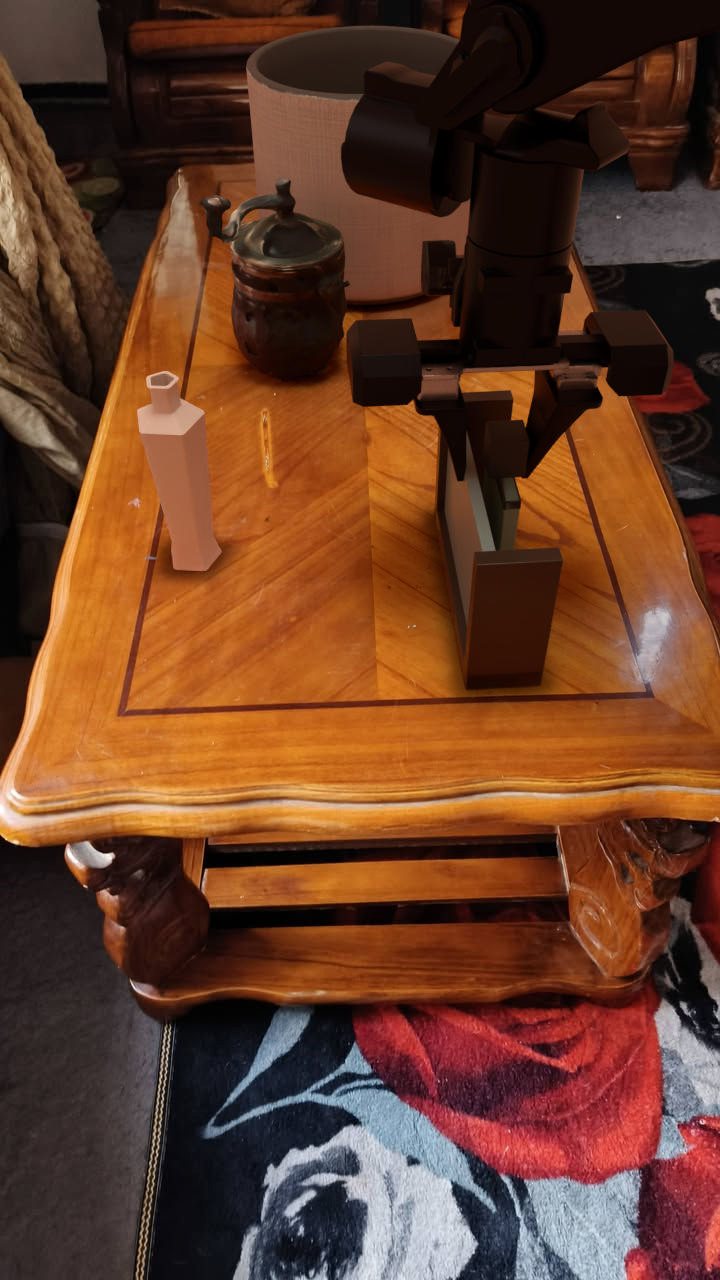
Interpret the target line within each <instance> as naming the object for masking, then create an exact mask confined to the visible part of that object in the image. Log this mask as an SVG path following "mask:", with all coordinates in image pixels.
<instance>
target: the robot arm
mask: <svg viewBox="0 0 720 1280" xmlns="http://www.w3.org/2000/svg"><path fill="white" fill-rule="evenodd" d="M719 32H720V0H468V3H467V5H466V7H465V10H464V12H463V15H462V22H461V30H460V37H459V40H460V41H459V42H458V44H457V45H456V47H455V48H454V50H453V51H452V53H451V54H450V56H449V57H448V59H447V60H446V62H445V63H444V65H443V67H442V68H441V70H440V71H439V73H438V74H437V76H435V75H430V74H426V73H421V72H417V71H414V70H412V69H410V68H408V67H407V66H405V65H401V64H397V63H392V62H384V63H382V64H380V65H377V66H375V67H373V68H371V69H368V70H366V71H365V73H364V95H363V96H362V97H361V98H360V100H359V102H358V103H357V105H356V106H355V108H354V110H353V113H352V115H351V117H350V120H349V123H348V127H347V130H346V135H345V141H344V142H343V143H342V145H341V163H342V171H343V174H344V177H345V180H346V182H347V184H348V185H349V187H350V189H351V190H353V191H354V192H355V193H356V194H359V195H363V196H366V197H370V198H373V199H377V200H381V201H384V202H388V203H391V204H395V205H398V206H402V207H405V208H409V209H412V210H416V211H419V212H423V213H426V214H430V215H433V216H437V217H446V216H449V215H451V214H452V213H453V212H454V211H455V210H456V209H457V208H458V207H459V206H460V205H461V203H463V202H467V201H468V200H469V199H470V209H469V221H468V234H467V236H466V243H465V247H464V255H456V244H455V242H454V241H451V240H430V241H423V244H422V259H421V289H422V293H423V294H425V295H424V296H427V297H443V296H444V297H445V296H449V301H448V302H449V308H450V320H451V324H452V327H454V328H459V335H458V338H448V339H446V338H445V339H421V340H419V339H418V338H417V334H416V329H415V326H414V323H413V318H411V317H409V318H383V319H381V318H379V319H357V320H355V321H353V324H351V325H350V326H349V328H348V329H347V330H346V335H345V336H346V338H345V339H346V340H345V341H346V344H345V345H346V348H345V350H346V352H345V353H346V367H347V373H348V380H349V385H350V393H351V398H352V403H353V404H356V405H357V406H360V407H362V408H372V407H373V408H374V407H393V406H394V407H395V406H397V407H398V406H408V405H409V404H411V402H413V405H414V409H415V412H416V413H417V414H418V415H420V416H425V417H433V418H434V420H435V422H436V424H437V427H438V426H439V428H440V430H441V432H442V434H443V436H444V438H445V440H446V442H447V445H448V449H449V452H450V456H451V460H452V463H453V467H454V471H455V475H456V478H457V481H458V482H459V481H463V480H464V475H465V471H466V440H467V407H466V404H465V401H464V398H463V394H462V393H463V392H462V389H461V385H460V382H461V379H462V378H461V376H462V375H463V374H479V373H480V374H481V373H505V372H507V373H509V372H532V371H534V380H533V383H534V384H533V393H532V397H531V401H530V406H529V407H530V408H529V410H528V416H527V419H526V423H525V427H526V431H527V434H528V437H529V440H530V443H529V451H528V458H527V466H526V474H525V477H521V479H522V480H523V479H524V480H525V479H529V478H530V477H531V475H532V474H533V473H534V471H535V470H536V468H537V467H538V466H539V465H540V464H541V462H542V461H543V459H544V458H545V457H546V456H547V454H548V453H549V452H550V451H551V449H552V448H553V447H554V445H555V444H556V443H557V442H558V440H559V439H560V438H561V437H562V436H563V435H564V434H565V433H566V432H567V431H568V430H569V429H570V428H571V427H572V426H573V425H574V424H575V423H576V421H577V420H579V419H580V417H581V416H583V415H584V413H585V412H586V411H589V410H596V409H600V408H601V407H602V405H603V401H604V396H603V394H602V393H601V390H600V389H599V387H598V381H599V377H601V375H602V369H604V368H607V371H606V375H605V381H606V383H607V385H608V386H609V388H610V389H611V390H612V391H613V392H614V393H615V394H616V395H617V397H639V396H643V397H644V396H662V395H663V394H664V393H666V392H667V391H668V390H669V386H670V382H671V378H672V375H673V370H674V368H675V367H674V366H675V360H674V350H673V348H672V347H671V346H670V344H669V342H668V341H667V339H666V338H665V336H664V335H663V333H662V332H661V330H660V329H659V327H658V325H657V324H656V323H655V321H654V320H653V318H652V317H651V316H650V315H649V314H648V312H647V310H646V309H637V310H636V309H634V310H610V311H608V310H607V311H606V310H605V311H590V312H589V313H588V314H587V316H586V317H585V318H584V320H583V326H582V329H581V330H580V329H579V330H578V329H576V330H574V329H573V330H560V327H561V320H562V315H563V308H564V301H565V295H566V294H571V292H572V291H571V290H572V285H573V278H574V273H573V272H572V270H571V269H570V263H571V255H572V250H573V243H574V237H575V231H576V230H575V229H576V223H577V217H578V211H579V205H580V198H581V192H582V186H583V179H584V173H585V171H587V172H588V171H589V172H596V171H598V170H600V169H601V168H603V167H605V166H607V165H608V164H610V163H612V162H614V161H615V160H617V159H619V158H621V157H622V156H624V155H626V154H627V153H628V152H629V151H630V149H631V142H630V140H629V138H628V137H627V136H626V134H625V133H624V132H623V130H622V129H621V128H620V126H619V125H617V123H616V122H614V120H613V119H612V117H611V115H610V114H609V111H608V109H607V108H608V107H607V105H606V103H605V102H604V101H602V100H600V101H597V102H594V103H593V104H590V105H589V106H586V107H585V108H582V109H580V110H579V111H578V112H577V113H576V114H575V115H574V114H568V113H564V112H560V111H554V110H549V109H545V108H540V107H542V106H544V105H546V104H548V103H550V102H552V101H554V100H556V99H558V98H560V97H562V96H565V95H566V94H569V93H570V92H572V91H574V90H576V89H578V88H581V87H583V86H584V85H586V84H588V83H590V82H593V81H595V80H596V79H598V78H601V77H603V76H605V75H606V74H608V73H610V72H613V71H615V70H617V69H619V68H621V67H622V66H624V65H626V64H628V63H630V62H632V61H635V60H637V59H638V58H640V57H643V56H644V55H646V54H648V53H651V52H652V51H654V50H657V49H659V48H662V47H666V46H669V45H673V44H677V43H680V42H681V43H682V42H685V41H688V40H692V39H697V38H700V37H704V36H708V35H710V34H714V33H719ZM490 109H492V110H493V111H494V112H495V113H499V114H503V115H505V116H506V115H515V116H514V117H513V118H508V117H504V116H499V115H494V114H489V113H487V111H488V110H490Z"/></svg>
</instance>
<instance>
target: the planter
mask: <svg viewBox="0 0 720 1280" xmlns="http://www.w3.org/2000/svg"><path fill="white" fill-rule="evenodd" d="M459 41H460V39H458V38H455V37H454V36H450V35H448V34H444V33H440V32H436V31H433V30H432V31H431V30H426V29H422V28H414V27H413V28H412V27H405V26H404V27H403V26H392V25H390V26H389V25H351V26H349V25H348V26H336V27H327V28H322V29H321V28H320V29H314V30H308V31H303V32H299V33H294V34H291V35H288V36H287V35H286V36H284V37H281V38H278V39H275V40H273V41H269V43H266V44H264V45H262V46H261V47H259V48H258V49H257V50H254V52H252V53H251V55H249V57H248V59H247V61H246V68H245V69H246V79H247V80H246V81H247V91H248V92H247V93H248V102H249V103H248V104H249V113H250V123H251V136H252V138H251V139H252V148H253V161H254V173H255V187H256V197H258V196H264V195H269V194H274V193H277V190H276V187H275V184H276V181H277V179H278V178H287V179H289V180H290V181H291V185H290V193H291V195H292V196H293V197H294V199H295V201H296V204H295V207H294V209H293V212H296V213H300V214H303V215H306V216H308V217H310V218H315V219H317V220H322V221H324V222H326V223H329V224H331V225H333V226H334V227H335V228H336V229H338V230H339V231H340V232H341V234H342V236H343V239H344V246H345V270H344V282H345V281H347V280H348V282H349V283H350V285H349V286H348V287H344V289H345V296H346V302H347V306H379V305H387V304H394V303H400V302H406V301H409V300H413V299H416V298H419V297H422V296H426V295H425V294H423V293H422V289H421V259H422V244H423V241H430V240H451V241H454V242H455V244H456V255H464V247H465V243H466V236H467V234H468V221H469V209H470V199H469V200H468V201H467V202H463V203H461V205H460V206H459V207H458V208H457V209H456V210H455V211H454V212H453V213H452V214H451V215H449V216H446V217H437V216H433V215H430V214H426V213H423V212H419V211H416V210H412V209H409V208H405V207H402V206H398V205H395V204H391V203H388V202H384V201H381V200H377V199H373V198H370V197H366V196H363V195H359V194H356V193H355V192H354V191H353V190H351V189H350V187H349V185H348V184H347V182H346V180H345V177H344V174H343V171H342V163H341V145H342V143H343V142H344V141H345V135H346V130H347V127H348V123H349V120H350V117H351V115H352V113H353V110H354V108H355V106H356V105H357V103H358V102H359V100H360V98H361V97H362V96H363V95H364V73H365V71H366V70H368V69H371V68H373V67H375V66H377V65H380V64H382V63H384V62H392V63H397V64H401V65H405V66H407V67H408V68H410V69H412V70H414V71H417V72H421V73H426V74H430V75H435V76H437V74H438V73H439V71H440V70H441V68H442V67H443V65H444V63H445V62H446V60H447V59H448V57H449V56H450V54H451V53H452V51H453V50H454V48H455V47H456V45H457V44H458V42H459ZM257 213H258V220H260V219H261V218H264V217H267V216H269V215H271V214H274V213H276V212H275V211H274V210H269V209H257Z"/></svg>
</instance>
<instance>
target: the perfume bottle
mask: <svg viewBox="0 0 720 1280" xmlns="http://www.w3.org/2000/svg"><path fill="white" fill-rule="evenodd" d="M179 380H180V377H179V376H178V375H175V374H174V373H172V372H171V371H168V370H162V371H160V372H156V373H153V374H150V375H147V376H146V378H145V381H146V382H145V383H146V388H147V389H149V394H150V399H151V403H149V404H147V405H144V406H142V407H139V408H138V409H137V410H136V414H137V422H138V432H139V435H140V439H141V442H142V445H143V446H142V447H143V449H144V451H145V455H146V459H147V463H148V466H149V469H150V472H151V476H152V479H153V482H154V487H155V489H156V493H157V496H158V500H159V503H160V507H161V509H162V513H163V516H164V519H165V523H166V527H167V530H168V532H169V536H170V540H171V547H170V549H171V550H170V552H171V559H172V560H171V561H172V568H173V570H176V571H188V572H189V571H190V572H191V571H192V572H206V571H208V570H209V569H210V568H211V566H212V565H213V564H214V562H216V561H217V559H218V558H219V556H220V555H221V554H222V551H223V550H222V549H221V547H220V545H219V543H218V542H217V540H216V538H215V535H214V534H215V533H214V522H213V509H212V495H211V480H210V468H209V454H208V453H209V452H208V440H207V439H208V438H207V427H206V426H207V425H206V413H205V410H203V409H202V408H200V407H198V406H196V405H194V404H192V403H191V402H189V401H187V400H185V399H183V398H181V393H180V389H179V384H178V382H179Z"/></svg>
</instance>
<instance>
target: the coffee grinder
mask: <svg viewBox="0 0 720 1280" xmlns="http://www.w3.org/2000/svg"><path fill="white" fill-rule="evenodd" d="M290 185H291V181H290V180H289V179H287V178H278V179H277V181H276V184H275V187H276V190H277V193H274V194H269V195H264V196H258V197H257V196H253V197H251V198H248V199H246V200H244V201H242V202H241V203H240V204H239V205H238V207H237V208H236V209H235V210H233V212H232V213H231V215H230V216H229V221H228V223H227V225H225V227H223V225H224V224H223V223H224V222H223V214H224V213H225V212H226V211H229V210H230V209H231V208H232V203H231V200H230V199H228V198H225V197H222V196H220V195H218V194H215V195H212V196H210V195H209V196H206V197H203V198H201V199H200V200H199V202H198V205H200V206H201V207H202V208H203V210H204V212H205V218H206V219H205V220H206V221H205V222H206V223H205V224H206V227H207V230H208V236H210V237H211V238H217V239H219V240H221V242H222V243H223V244H229V248H230V249H229V250H230V258H231V271H232V279H233V290H232V300H231V309H230V317H231V324H232V329H233V330H232V331H233V335H234V338H235V340H236V342H237V347H238V350H239V351H240V352H241V353H242V355H243V356H244V358H245V360H246V361H247V362H248V363H249V365H251V366H252V367H253V368H255V369H256V370H257V371H258V372H259V373H261V374H265V375H272V376H274V377H275V378H276V379H277V380H279V381H280V382H284V381H290V380H293V379H295V378H298V377H301V376H305V375H309V376H310V377H314V376H317V375H318V374H319V373H321V372H323V371H324V370H325V369H326V367H327V364H329V362H330V361H331V360H332V358H333V357H334V355H335V353H336V351H337V349H338V348H340V347H339V346H340V344H341V342H342V341H343V338H344V337H345V330H344V327H343V326H344V325H343V324H344V320H345V316H346V313H347V309H348V305H347V302H346V296H345V289H344V287H348V286H349V285H350V283H349V282H348V280H347V281H345V282H344V270H345V246H344V239H343V236H342V234H341V232H340V231H339V230H338V229H336V228H335V227H334V226H333V225H331V224H329V223H326V222H324V221H322V220H317V219H315V218H310V217H308V216H306V215H303V214H300V213H296V212H293V209H294V207H295V204H296V201H295V199H294V197H293V196H292V195H291V193H290ZM258 209H269V210H274V211H275V212H276V213H274V214H271V215H269V216H267V217H264V218H261V219H260V220H259V219H257V220H252V221H248V222H245V221H243V220H244V219H245V217H246V216H247V215H248V214H250V212H253V211H255V210H258Z"/></svg>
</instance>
